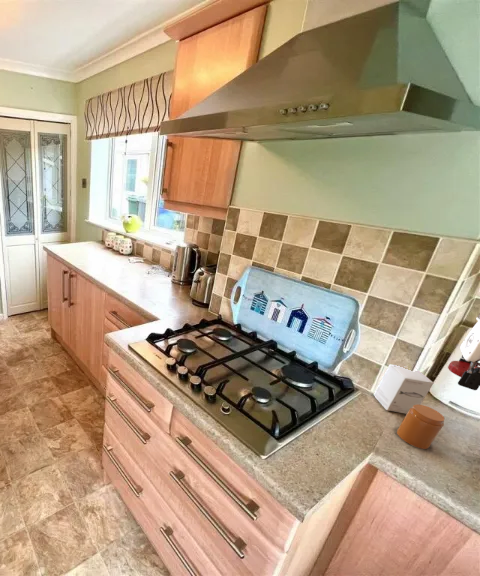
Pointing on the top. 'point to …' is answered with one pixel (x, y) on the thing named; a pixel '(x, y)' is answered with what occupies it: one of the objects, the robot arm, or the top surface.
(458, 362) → the lid
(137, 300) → the top surface
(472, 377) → the robot arm
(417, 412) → the jar
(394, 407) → the white packaging box
